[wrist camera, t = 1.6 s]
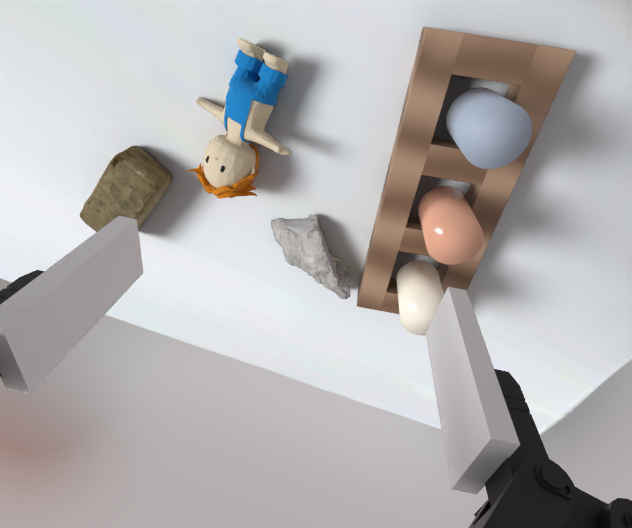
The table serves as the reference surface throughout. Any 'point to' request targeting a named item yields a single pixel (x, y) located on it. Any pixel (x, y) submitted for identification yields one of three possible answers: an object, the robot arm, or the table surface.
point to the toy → (243, 123)
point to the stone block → (126, 189)
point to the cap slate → (488, 128)
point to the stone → (311, 252)
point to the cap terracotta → (449, 226)
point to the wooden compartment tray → (453, 149)
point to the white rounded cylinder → (418, 295)
